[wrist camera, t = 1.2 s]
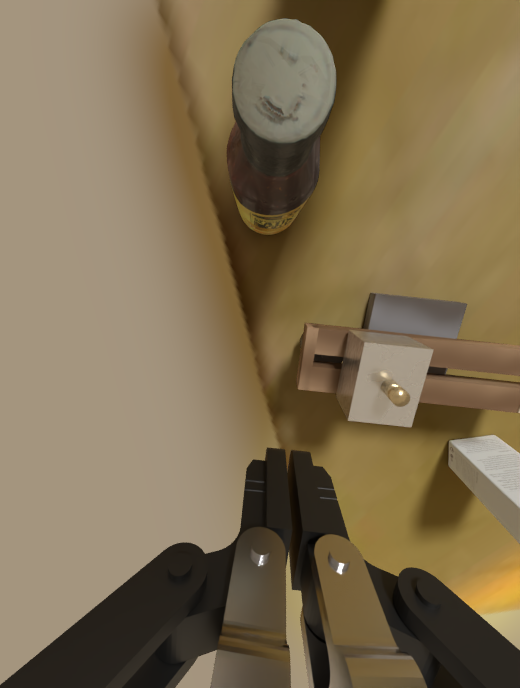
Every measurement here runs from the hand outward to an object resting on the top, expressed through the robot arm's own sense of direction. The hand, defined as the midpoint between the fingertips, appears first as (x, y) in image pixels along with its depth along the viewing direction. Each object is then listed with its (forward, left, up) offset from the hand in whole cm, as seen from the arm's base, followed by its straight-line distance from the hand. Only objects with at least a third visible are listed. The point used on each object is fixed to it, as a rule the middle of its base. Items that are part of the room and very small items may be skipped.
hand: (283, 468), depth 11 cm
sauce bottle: (-14, -2, -23) cm, 27 cm away
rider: (0, +8, -16) cm, 18 cm away
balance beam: (0, +16, -23) cm, 28 cm away
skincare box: (+13, +28, -23) cm, 39 cm away
